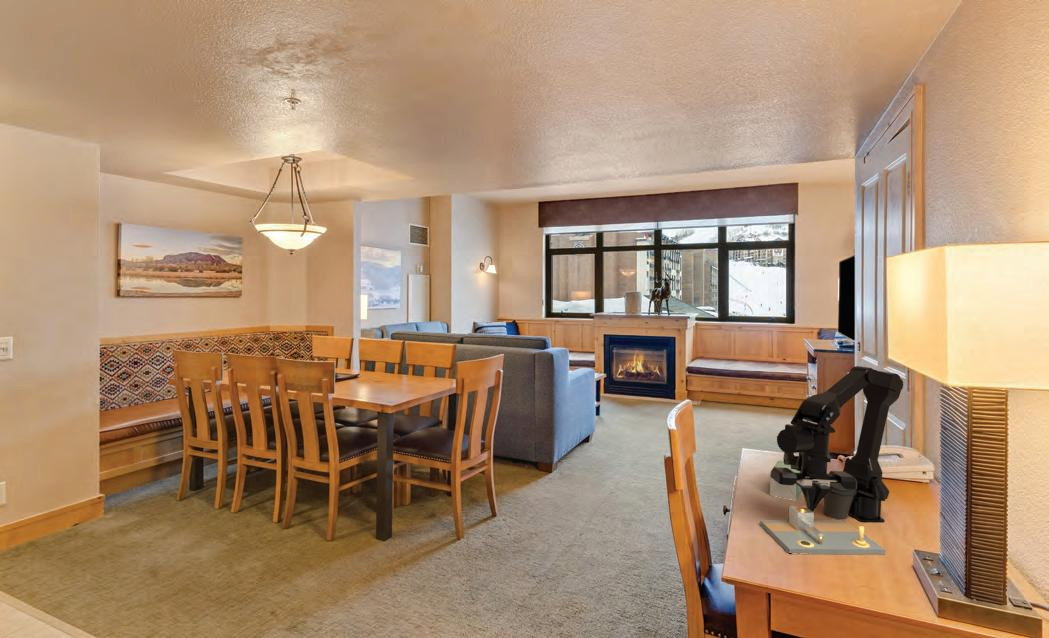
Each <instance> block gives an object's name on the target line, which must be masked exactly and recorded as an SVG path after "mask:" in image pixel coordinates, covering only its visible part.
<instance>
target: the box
mask: <svg viewBox="0 0 1049 638" xmlns="http://www.w3.org/2000/svg"><path fill="white" fill-rule="evenodd" d="M774 467H781V468H788V469H790V470H791V471H793V472H794V473H800V471H797V470H796V469H791V465H785V464H784V460H777V461H776V463H775V465H774V466H773V467H772V469H773V468H774ZM769 475H770V477H769V484H770V485H769V495H770V496H771V495H772V496H771V497H774V496H777V497H776V498H778V497H781V498H780V499H783V498H786V499H785V500H788V499H792V500H791V501H793V500H796V501H797V500H798V499H799V498H798V497H800V493H801V492H802V490H801V488H800V487H799V486H798V485H797V484H794V485H782V484H779V483H778V482H776V481H775V480H774V479H772V478H771V471H770V474H769Z"/></svg>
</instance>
